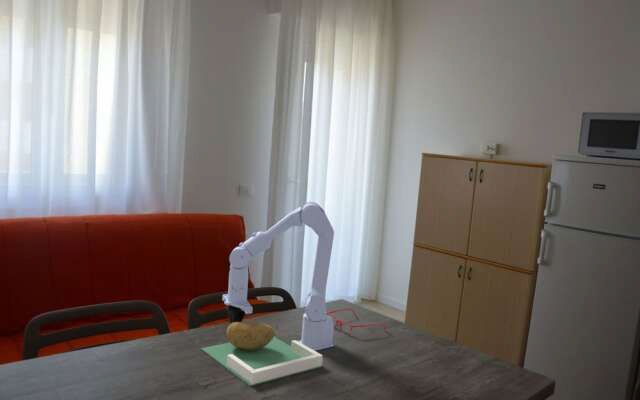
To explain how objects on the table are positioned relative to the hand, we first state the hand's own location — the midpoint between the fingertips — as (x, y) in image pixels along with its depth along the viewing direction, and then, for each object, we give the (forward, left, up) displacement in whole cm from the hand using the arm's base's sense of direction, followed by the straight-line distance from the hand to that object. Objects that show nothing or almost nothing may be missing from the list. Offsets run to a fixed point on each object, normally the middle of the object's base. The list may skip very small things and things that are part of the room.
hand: (235, 329), depth 162 cm
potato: (0, +9, -3) cm, 9 cm away
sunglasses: (-42, +9, -4) cm, 43 cm away
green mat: (0, +15, -3) cm, 15 cm away
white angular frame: (0, +22, -3) cm, 22 cm away
